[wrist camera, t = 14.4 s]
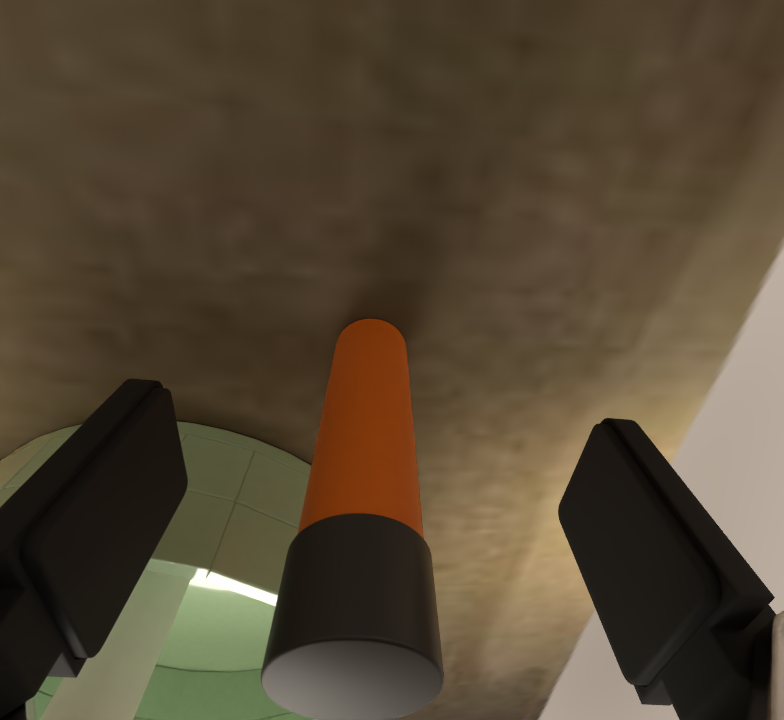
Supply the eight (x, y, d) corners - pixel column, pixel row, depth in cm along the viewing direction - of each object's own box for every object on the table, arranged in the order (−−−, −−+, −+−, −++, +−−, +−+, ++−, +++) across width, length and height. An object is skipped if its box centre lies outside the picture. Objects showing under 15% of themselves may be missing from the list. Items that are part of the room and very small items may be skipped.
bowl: (-108, 400, 14) (-326, 530, 10) (408, 435, 15) (418, 565, 11) (52, 658, 23) (-26, 786, 18) (371, 668, 24) (368, 791, 20)
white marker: (142, 509, 16) (-86, 885, 8) (207, 512, 16) (43, 884, 8) (153, 549, 17) (-35, 909, 9) (213, 551, 17) (76, 909, 10)
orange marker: (333, 310, 13) (254, 634, 5) (414, 318, 13) (459, 642, 5) (331, 378, 14) (264, 722, 6) (404, 383, 14) (430, 725, 6)
